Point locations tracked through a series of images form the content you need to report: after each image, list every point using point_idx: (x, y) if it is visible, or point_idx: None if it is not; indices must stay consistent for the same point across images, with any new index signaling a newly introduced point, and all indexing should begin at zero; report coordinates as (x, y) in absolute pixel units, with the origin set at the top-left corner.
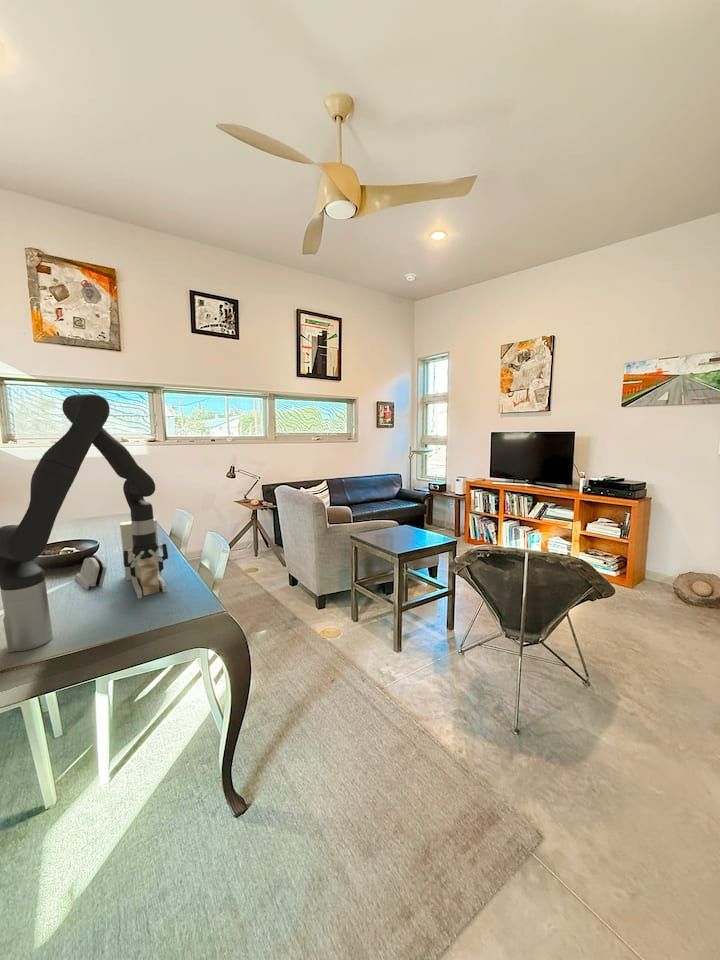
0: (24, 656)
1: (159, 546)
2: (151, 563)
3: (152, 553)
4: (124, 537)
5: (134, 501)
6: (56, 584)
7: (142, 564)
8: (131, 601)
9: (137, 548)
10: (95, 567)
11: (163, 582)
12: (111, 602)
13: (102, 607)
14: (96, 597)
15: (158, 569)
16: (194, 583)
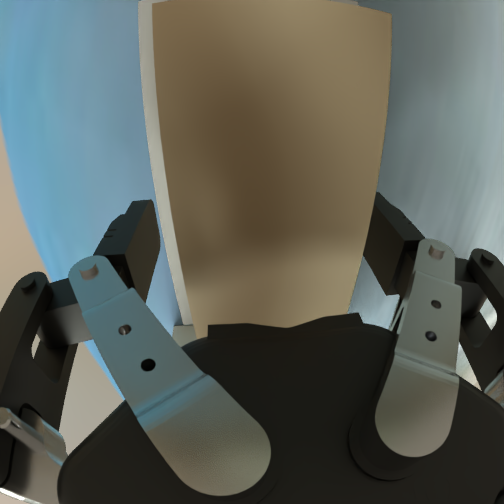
0: None
1: (48, 479)
2: (215, 267)
3: (172, 381)
4: None
5: None
6: (459, 354)
7: (316, 284)
8: (376, 2)
9: (479, 485)
10: (455, 371)
11: (148, 71)
12: (452, 77)
13: (482, 54)
14: (470, 193)
15: (181, 343)
16: (3, 88)
